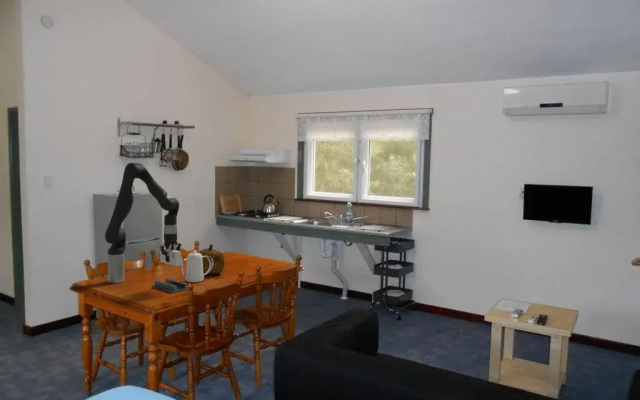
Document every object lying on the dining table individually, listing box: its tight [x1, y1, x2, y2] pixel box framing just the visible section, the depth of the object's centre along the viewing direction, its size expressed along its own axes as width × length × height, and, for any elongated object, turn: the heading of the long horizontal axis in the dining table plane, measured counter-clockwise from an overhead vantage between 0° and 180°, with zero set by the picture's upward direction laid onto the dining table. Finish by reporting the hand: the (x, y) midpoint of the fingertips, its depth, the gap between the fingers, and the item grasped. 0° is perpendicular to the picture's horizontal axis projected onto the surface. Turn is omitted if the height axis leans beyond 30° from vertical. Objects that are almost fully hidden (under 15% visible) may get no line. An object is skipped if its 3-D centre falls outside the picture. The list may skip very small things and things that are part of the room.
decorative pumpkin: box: [197, 243, 226, 276], centre depth 344 cm, size 20×21×20 cm
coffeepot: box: [180, 250, 213, 283], centre depth 323 cm, size 11×25×19 cm, turn 126°
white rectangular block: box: [159, 248, 182, 267], centre depth 304 cm, size 16×4×8 cm, turn 50°
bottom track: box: [152, 277, 189, 294], centre depth 305 cm, size 20×12×4 cm, turn 50°
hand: (170, 261), depth 304 cm, fingers closed on white rectangular block, 3 cm apart
